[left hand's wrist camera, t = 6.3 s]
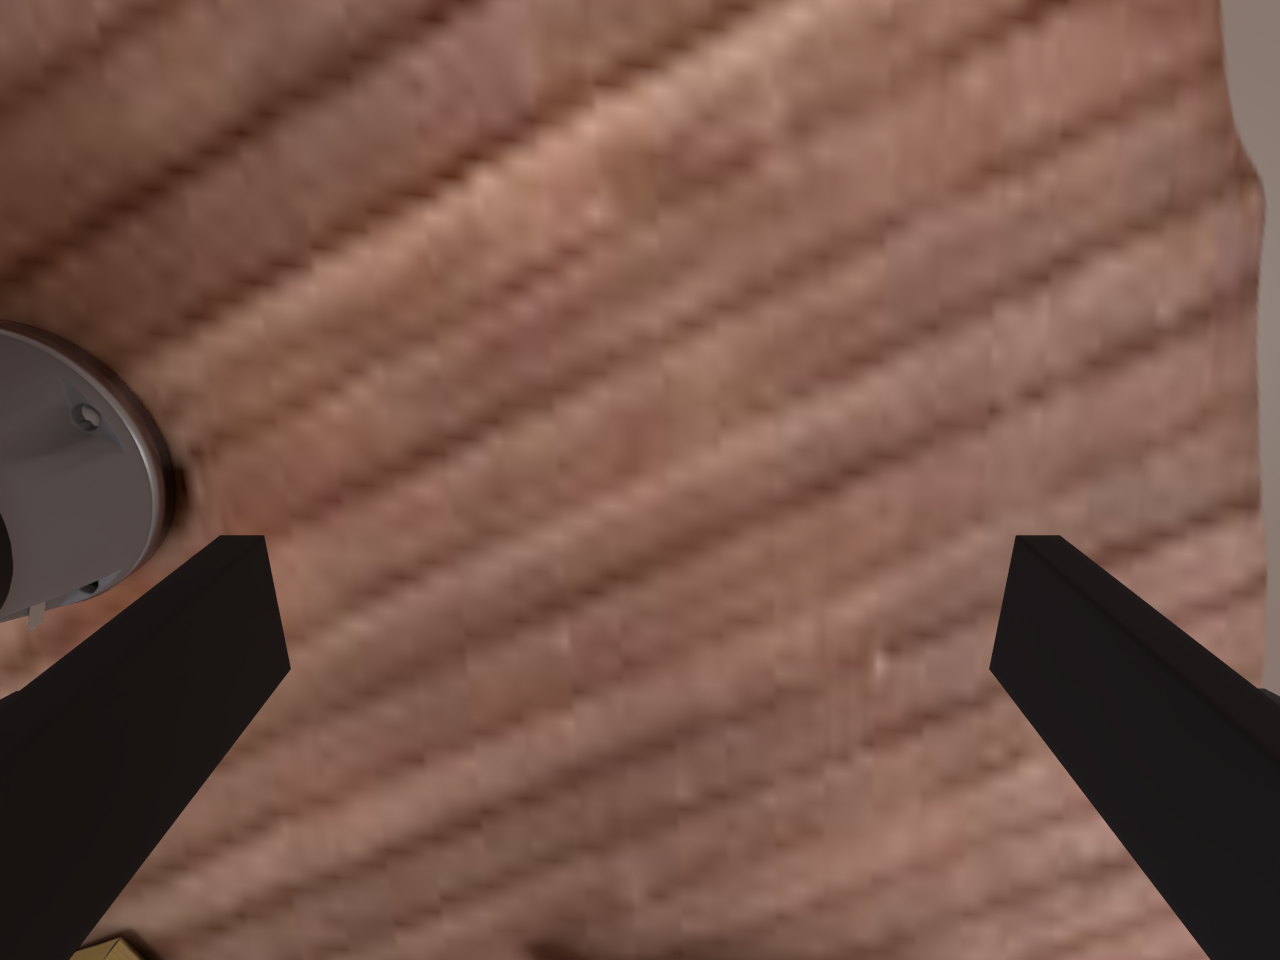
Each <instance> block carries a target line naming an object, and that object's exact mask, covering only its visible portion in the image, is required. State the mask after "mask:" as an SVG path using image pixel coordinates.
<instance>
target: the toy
mask: <svg viewBox="0 0 1280 960" xmlns="http://www.w3.org/2000/svg"><path fill="white" fill-rule="evenodd" d="M70 960H146V959H145V958H144V957H143V956H142V955H141V954H139V953H138V952H137V951H136V950H135V949H134V948H133V947H132V946H131V945H130V944H129V943H128V942H127V941H126V940H125V939H124V938H123V937H118V938H115V939H112V940H109V941H106V942H103V943H100V944H97V945H93V946H90V947H87V948H84V949H81V950H78V951H76V952H75V953H74V954H73V956H72V957H71V958H70Z"/></svg>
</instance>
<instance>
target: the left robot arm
mask: <svg viewBox="0 0 1280 960" xmlns="http://www.w3.org/2000/svg"><path fill="white" fill-rule="evenodd" d="M174 499H175V493H174V478H173V471H172V467H171V462H170V459H169V455H168V452H167V449H166V446H165V444H164V442H163V439H162V437H161V435H160V433H159V431H158V429H157V427H156V425H155V423H154V421H153V420H152V418H151V417H150V415H149V414H148V412H147V410H146V409H145V407H144V406H143V405H142V403H141V402H140V401H139V400H138V398H137V397H136V396H135V394H134V393H133V392H132V391H131V390H130V389H129V388H128V387H127V386H126V385H125V383H124V382H123V381H121V380H120V379H119V378H118V377H117V376H116V375H115V374H114V373H113V372H112V371H111V370H110V369H108V368H107V367H106V366H105V365H103V364H102V363H101V362H100V361H98V360H97V359H95V358H94V357H93V356H91V355H90V354H88V353H87V352H85V351H84V350H82V349H80V348H79V347H77V346H75V345H73V344H72V343H70V342H68V341H66V340H64V339H62V338H60V337H58V336H55V335H53V334H50V333H48V332H45V331H43V330H40V329H37V328H33V327H30V326H27V325H23V324H18V323H13V322H8V321H0V623H1V622H5V621H9V620H13V619H16V618H20V617H24V616H28V615H29V619H28V628H27V633H29V632H30V631H32V630H33V629H34V628H36V627H37V626H39V625H40V624H42V623H43V618H44V611H46V610H50V609H53V608H56V607H60V606H65V605H69V604H72V603H77V602H80V601H84V600H87V599H90V598H93V597H95V596H98V595H100V594H102V593H104V592H106V591H107V590H109V589H111V588H112V587H114V586H115V585H117V584H118V583H119V582H121V581H122V580H124V579H125V578H126V577H128V576H129V575H131V574H132V573H133V572H135V571H136V570H138V569H139V568H140V567H141V566H142V565H144V564H145V563H146V562H147V561H148V560H149V559H150V558H151V557H152V556H153V554H154V553H155V552H156V551H157V549H158V548H159V546H160V545H161V543H162V541H163V540H164V538H165V536H166V534H167V531H168V528H169V526H170V523H171V519H172V514H173V509H174ZM290 669H291V668H290V663H289V658H288V653H287V648H286V643H285V638H284V633H283V628H282V623H281V618H280V613H279V608H278V603H277V598H276V593H275V588H274V583H273V578H272V573H271V568H270V563H269V558H268V553H267V548H266V543H265V538H264V535H220V536H219V537H218V538H216V539H215V540H214V541H212V542H211V543H210V544H208V545H207V546H206V547H205V548H203V549H202V550H201V551H199V552H198V553H197V554H196V555H194V556H193V557H192V558H190V559H189V560H188V561H187V562H185V563H184V564H183V565H181V566H180V567H179V568H177V569H176V570H175V571H174V572H172V573H171V574H170V575H168V576H167V577H166V578H165V579H163V580H162V581H161V582H159V583H158V584H157V585H156V586H154V587H153V588H152V589H150V590H149V591H148V592H147V593H145V594H144V595H143V596H141V597H140V598H139V599H137V600H136V601H135V602H134V603H132V604H131V605H130V606H128V607H127V608H126V609H125V610H123V611H122V612H121V613H119V614H118V615H117V616H116V617H114V618H113V619H112V620H110V621H109V622H108V623H107V624H105V625H104V626H103V627H101V628H100V629H99V630H97V631H96V632H95V633H94V634H92V635H91V636H90V637H88V638H87V639H86V640H85V641H83V642H82V643H81V644H79V645H78V646H77V647H76V648H74V649H73V650H72V651H70V652H69V653H68V654H67V655H65V656H64V657H63V658H61V659H60V660H59V661H57V662H56V663H55V664H54V665H52V666H51V667H50V668H48V669H47V670H46V671H45V672H43V673H42V674H41V675H39V676H38V677H37V678H36V679H34V680H33V681H32V682H30V683H29V684H28V685H27V686H25V687H24V688H23V689H21V690H20V691H16V692H14V693H12V694H10V695H8V696H6V697H4V698H2V699H0V960H70V958H71V957H72V956H73V954H74V953H75V952H76V950H77V949H78V948H79V946H80V945H81V944H82V943H83V941H84V940H85V939H86V937H87V936H88V935H89V933H90V932H91V931H92V929H93V928H94V927H95V925H96V924H97V923H98V922H99V920H100V919H101V918H102V916H103V915H104V914H105V912H106V911H107V910H108V908H109V907H110V906H111V904H112V903H113V902H114V900H115V899H116V898H117V897H118V895H119V894H120V893H121V891H122V890H123V889H124V887H125V886H126V885H127V883H128V882H129V881H130V879H131V878H132V877H133V876H134V874H135V873H136V872H137V870H138V869H139V868H140V866H141V865H142V864H143V862H144V861H145V860H146V858H147V857H148V856H149V855H150V853H151V852H152V851H153V849H154V848H155V847H156V845H157V844H158V843H159V841H160V840H161V839H162V837H163V836H164V835H165V833H166V832H167V831H168V830H169V828H170V827H171V826H172V824H173V823H174V822H175V820H176V819H177V818H178V816H179V815H180V814H181V812H182V811H183V810H184V809H185V807H186V806H187V805H188V803H189V802H190V801H191V799H192V798H193V797H194V795H195V794H196V793H197V791H198V790H199V789H200V788H201V786H202V785H203V784H204V782H205V781H206V780H207V778H208V777H209V776H210V774H211V773H212V772H213V770H214V769H215V768H216V766H217V765H218V764H219V763H220V761H221V760H222V759H223V757H224V756H225V755H226V753H227V752H228V751H229V749H230V748H231V747H232V745H233V744H234V743H235V742H236V740H237V739H238V738H239V736H240V735H241V734H242V732H243V731H244V730H245V728H246V727H247V726H248V724H249V723H250V722H251V721H252V719H253V718H254V717H255V715H256V714H257V713H258V711H259V710H260V709H261V707H262V706H263V705H264V703H265V702H266V701H267V699H268V698H269V697H270V696H271V694H272V693H273V692H274V690H275V689H276V688H277V686H278V685H279V684H280V682H281V681H282V680H283V678H284V677H285V676H286V675H287V673H288V672H289V671H290ZM989 669H990V671H991V672H992V673H993V675H994V676H995V677H996V678H997V680H998V681H999V682H1000V684H1001V685H1002V686H1003V688H1004V689H1005V690H1006V692H1007V693H1008V694H1009V696H1010V697H1011V698H1012V699H1013V701H1014V702H1015V703H1016V705H1017V706H1018V707H1019V709H1020V710H1021V711H1022V713H1023V714H1024V715H1025V717H1026V718H1027V719H1028V721H1029V722H1030V723H1031V724H1032V726H1033V727H1034V728H1035V730H1036V731H1037V732H1038V734H1039V735H1040V736H1041V738H1042V739H1043V740H1044V742H1045V743H1046V744H1047V745H1048V747H1049V748H1050V749H1051V751H1052V752H1053V753H1054V755H1055V756H1056V757H1057V759H1058V760H1059V761H1060V763H1061V764H1062V765H1063V766H1064V768H1065V769H1066V770H1067V772H1068V773H1069V774H1070V776H1071V777H1072V778H1073V780H1074V781H1075V782H1076V784H1077V785H1078V786H1079V788H1080V789H1081V790H1082V791H1083V793H1084V794H1085V795H1086V797H1087V798H1088V799H1089V801H1090V802H1091V803H1092V805H1093V806H1094V807H1095V809H1096V810H1097V811H1098V812H1099V814H1100V815H1101V816H1102V818H1103V819H1104V820H1105V822H1106V823H1107V824H1108V826H1109V827H1110V828H1111V830H1112V831H1113V832H1114V833H1115V835H1116V836H1117V837H1118V839H1119V840H1120V841H1121V843H1122V844H1123V845H1124V847H1125V848H1126V849H1127V851H1128V852H1129V853H1130V855H1131V856H1132V857H1133V858H1134V860H1135V861H1136V862H1137V864H1138V865H1139V866H1140V868H1141V869H1142V870H1143V872H1144V873H1145V874H1146V876H1147V877H1148V878H1149V879H1150V881H1151V882H1152V883H1153V885H1154V886H1155V887H1156V889H1157V890H1158V891H1159V893H1160V894H1161V895H1162V897H1163V898H1164V899H1165V900H1166V902H1167V903H1168V904H1169V906H1170V907H1171V908H1172V910H1173V911H1174V912H1175V914H1176V915H1177V916H1178V918H1179V919H1180V920H1181V922H1182V923H1183V924H1184V925H1185V927H1186V928H1187V929H1188V931H1189V932H1190V933H1191V935H1192V936H1193V937H1194V939H1195V940H1196V941H1197V943H1198V944H1199V945H1200V946H1201V948H1202V949H1203V950H1204V952H1205V953H1206V954H1207V956H1208V957H1209V958H1210V960H1280V696H1278V695H1276V694H1274V693H1272V692H1270V691H1268V690H1266V689H1257V688H1256V687H1255V686H1253V685H1252V684H1251V683H1250V682H1248V681H1247V680H1246V679H1244V678H1243V677H1242V676H1241V675H1239V674H1238V673H1237V672H1235V671H1234V670H1233V669H1232V668H1230V667H1229V666H1228V665H1226V664H1225V663H1224V662H1223V661H1221V660H1220V659H1219V658H1217V657H1216V656H1215V655H1213V654H1212V653H1211V652H1210V651H1208V650H1207V649H1206V648H1204V647H1203V646H1202V645H1201V644H1199V643H1198V642H1197V641H1195V640H1194V639H1193V638H1192V637H1190V636H1189V635H1188V634H1186V633H1185V632H1184V631H1183V630H1181V629H1180V628H1179V627H1177V626H1176V625H1175V624H1173V623H1172V622H1171V621H1170V620H1168V619H1167V618H1166V617H1164V616H1163V615H1162V614H1161V613H1159V612H1158V611H1157V610H1155V609H1154V608H1153V607H1152V606H1150V605H1149V604H1148V603H1146V602H1145V601H1144V600H1143V599H1141V598H1140V597H1139V596H1137V595H1136V594H1135V593H1133V592H1132V591H1131V590H1130V589H1128V588H1127V587H1126V586H1124V585H1123V584H1122V583H1121V582H1119V581H1118V580H1117V579H1115V578H1114V577H1113V576H1112V575H1110V574H1109V573H1108V572H1106V571H1105V570H1104V569H1103V568H1101V567H1100V566H1099V565H1097V564H1096V563H1095V562H1093V561H1092V560H1091V559H1090V558H1088V557H1087V556H1086V555H1084V554H1083V553H1082V552H1081V551H1079V550H1078V549H1077V548H1075V547H1074V546H1073V545H1072V544H1070V543H1069V542H1068V541H1066V540H1065V539H1064V538H1062V537H1061V536H1060V535H1016V538H1015V543H1014V548H1013V553H1012V558H1011V563H1010V568H1009V573H1008V578H1007V583H1006V588H1005V593H1004V598H1003V603H1002V608H1001V613H1000V618H999V623H998V628H997V633H996V638H995V643H994V648H993V653H992V658H991V663H990V668H989Z"/></svg>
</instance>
